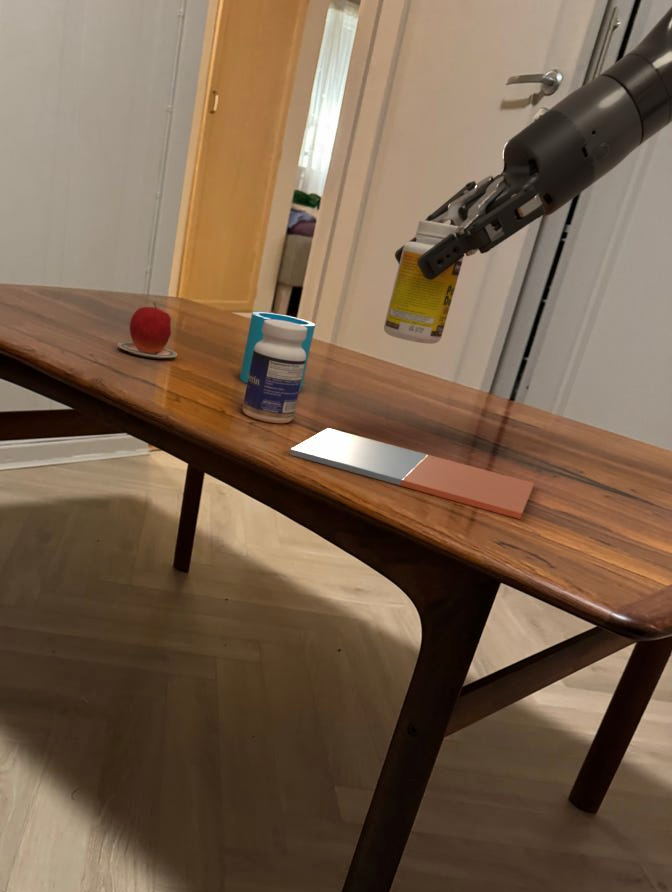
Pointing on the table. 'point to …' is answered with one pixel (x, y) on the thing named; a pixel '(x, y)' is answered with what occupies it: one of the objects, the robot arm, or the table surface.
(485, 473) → the sorting board
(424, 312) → the supplement bottle
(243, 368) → the mug
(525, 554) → the table surface
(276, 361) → the pill bottle
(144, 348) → the apple
